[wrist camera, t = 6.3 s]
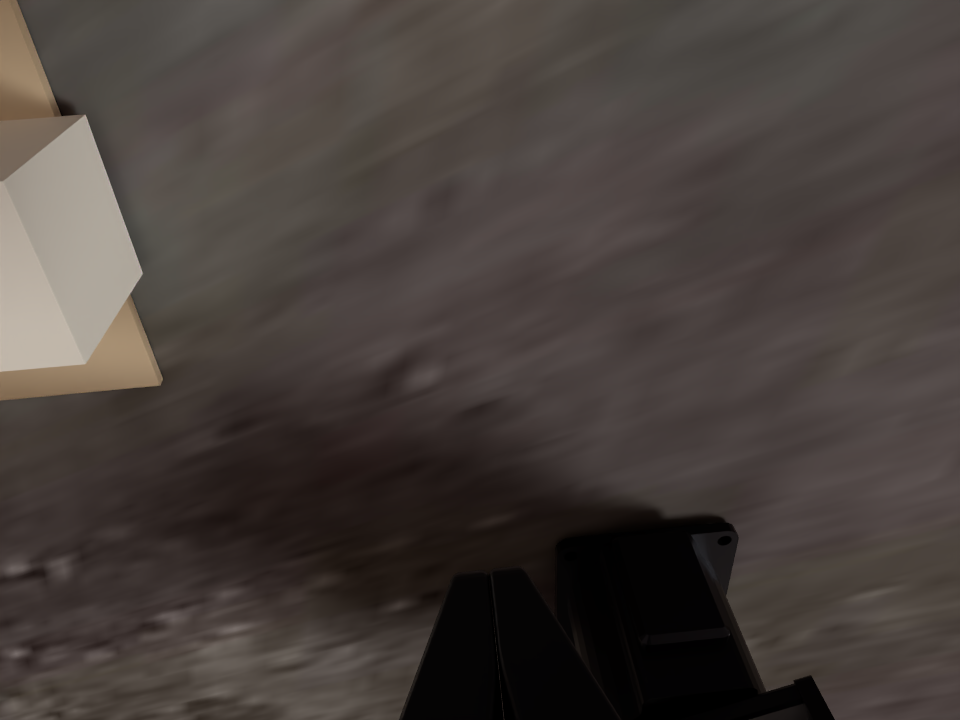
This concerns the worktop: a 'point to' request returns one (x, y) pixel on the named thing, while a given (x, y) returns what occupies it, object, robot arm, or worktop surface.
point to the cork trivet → (124, 347)
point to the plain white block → (58, 244)
